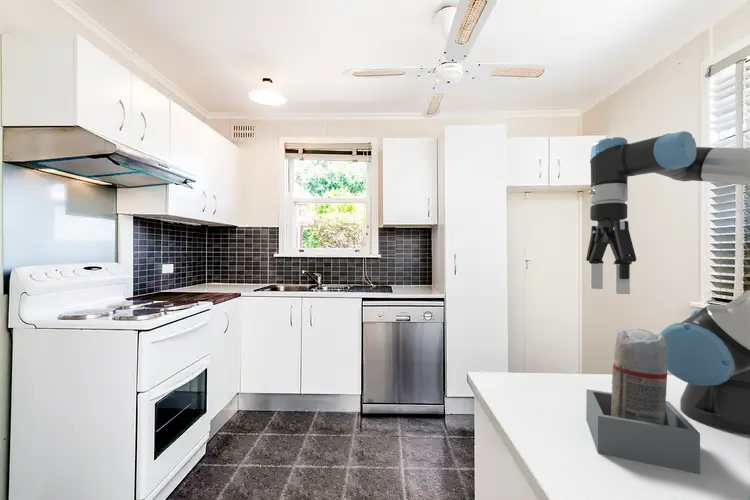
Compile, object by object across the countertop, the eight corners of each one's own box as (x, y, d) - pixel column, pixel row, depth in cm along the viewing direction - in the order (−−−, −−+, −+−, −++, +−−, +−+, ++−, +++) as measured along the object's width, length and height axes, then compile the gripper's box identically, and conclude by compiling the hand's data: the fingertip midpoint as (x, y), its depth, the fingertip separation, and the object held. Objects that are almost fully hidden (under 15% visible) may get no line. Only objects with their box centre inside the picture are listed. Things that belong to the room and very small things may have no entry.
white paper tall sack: (668, 438, 65) (668, 331, 66) (666, 456, 59) (666, 338, 59) (613, 423, 71) (614, 324, 71) (606, 438, 65) (607, 330, 65)
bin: (668, 434, 69) (668, 401, 69) (700, 474, 56) (700, 433, 56) (586, 419, 74) (586, 389, 75) (597, 452, 62) (598, 415, 62)
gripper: (573, 210, 98) (572, 286, 98) (615, 195, 74) (615, 295, 73) (602, 210, 97) (602, 287, 96) (656, 194, 72) (656, 297, 72)
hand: (608, 291), depth 85 cm, fingers open, 13 cm apart
